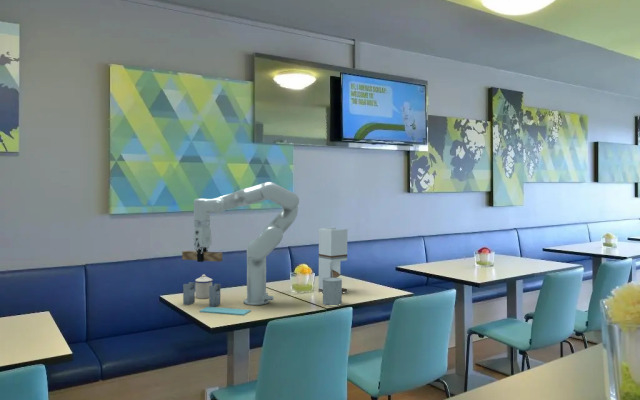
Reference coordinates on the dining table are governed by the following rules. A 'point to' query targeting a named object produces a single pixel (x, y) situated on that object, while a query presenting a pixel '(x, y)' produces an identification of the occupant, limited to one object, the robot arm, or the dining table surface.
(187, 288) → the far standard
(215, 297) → the near standard
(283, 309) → the dining table surface
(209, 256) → the rail
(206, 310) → the mat
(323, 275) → the grey tall blocky piece
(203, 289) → the teacup with lid
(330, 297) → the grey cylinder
